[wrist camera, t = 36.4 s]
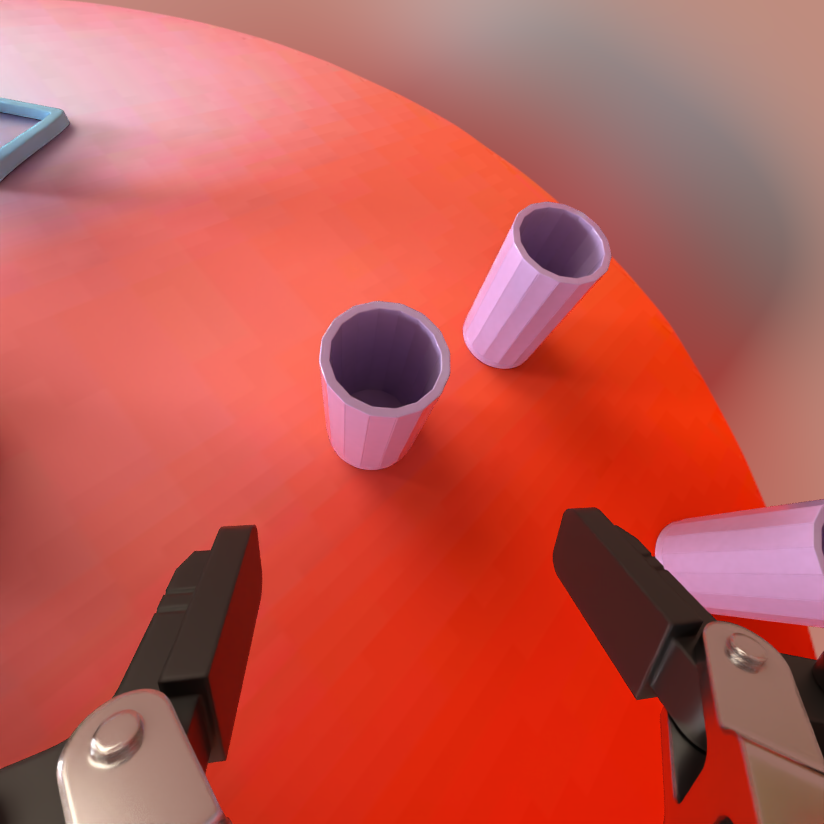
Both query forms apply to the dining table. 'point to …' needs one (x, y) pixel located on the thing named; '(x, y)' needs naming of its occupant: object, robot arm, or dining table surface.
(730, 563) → the end cup
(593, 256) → the cup
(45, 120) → the chair
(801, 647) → the dining table surface
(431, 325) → the middle cup
